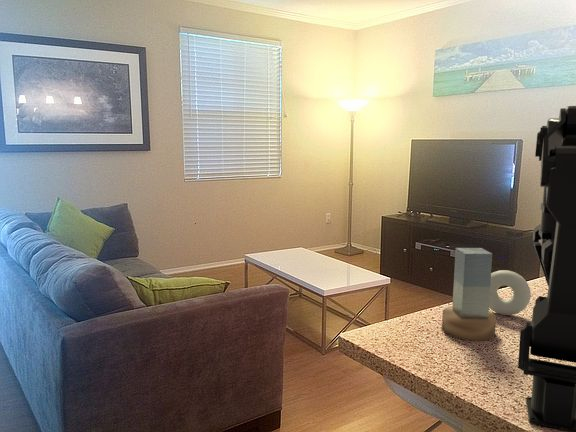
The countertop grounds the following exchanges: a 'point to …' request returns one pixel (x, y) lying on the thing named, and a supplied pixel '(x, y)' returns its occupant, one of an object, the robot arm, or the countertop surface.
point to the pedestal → (468, 326)
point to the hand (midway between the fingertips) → (555, 295)
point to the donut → (519, 289)
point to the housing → (472, 283)
